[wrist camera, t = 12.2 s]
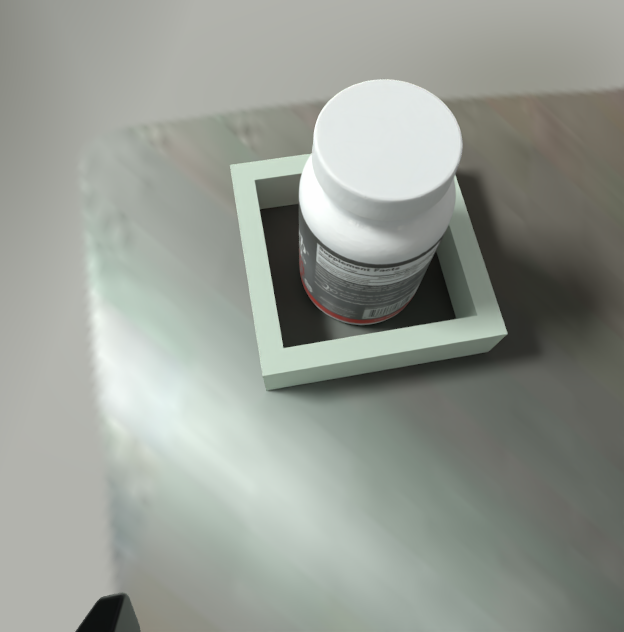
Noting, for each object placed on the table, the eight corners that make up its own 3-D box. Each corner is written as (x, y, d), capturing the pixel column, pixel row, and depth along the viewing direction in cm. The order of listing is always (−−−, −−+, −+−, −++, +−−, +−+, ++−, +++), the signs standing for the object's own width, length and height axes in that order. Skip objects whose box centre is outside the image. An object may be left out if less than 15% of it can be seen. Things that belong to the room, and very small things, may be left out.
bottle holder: (488, 352, 25) (507, 333, 22) (266, 390, 24) (262, 375, 22) (430, 167, 28) (442, 135, 26) (236, 195, 28) (229, 165, 25)
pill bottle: (319, 208, 27) (329, 45, 18) (429, 239, 27) (497, 88, 18) (283, 308, 25) (272, 184, 16) (401, 344, 25) (460, 237, 16)
